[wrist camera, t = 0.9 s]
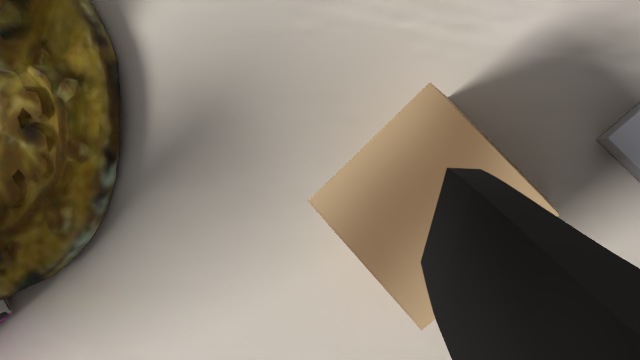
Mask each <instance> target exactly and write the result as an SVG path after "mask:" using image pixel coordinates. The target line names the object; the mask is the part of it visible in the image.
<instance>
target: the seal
mask: <svg viewBox="0 0 640 360" xmlns="http://www.w3.org/2000/svg"><path fill="white" fill-rule="evenodd" d="M119 127H120V87H119V80H118V70H117V60H116V56H115V52H114V49H113V46H112V44H111V41H110V38H109V37H108V35H107V33H106V31H105V28H104V25H103V23H102V21H101V19H100V17H99V16H98V14H97V13H96V11H95V10H94V8H93V6H92V4H91V3H90V1H89V0H0V250H1V254H2V261H1V264H0V300H2V299H5V298H8V297H10V296H12V295H14V294H16V293H17V292H19V291H21V290H23V289H25V288H27V287H29V286H31V285H33V284H36V283H38V282H40V281H42V280H45V279H47V278H49V277H51V276H53V275H55V274H57V273H58V272H59V271H60V270H62V269H63V268H64V267H65V266H67V265H68V264H69V263H70V262H71V261H72V260H73V259H74V258H75V257H76V256H77V255H78V254H79V253H80V251H81V250H82V249H83V248H84V247H85V245H86V244H87V243H88V242H89V240H90V239H91V238H92V236H93V235H94V233H95V232H96V230H97V228H98V227H99V225H100V224H101V222H102V220H103V217H104V215H105V213H106V211H107V208H108V204H109V201H110V197H111V193H112V190H113V186H114V183H115V180H116V167H117V163H118V159H119V156H120V137H119Z"/></svg>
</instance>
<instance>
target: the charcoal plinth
mask: <svg viewBox="0 0 640 360" xmlns="http://www.w3.org/2000/svg"><path fill="white" fill-rule="evenodd" d="M596 140H597V141H598V142H599V143H600V144H601V145H602V146H603V147H604V148H605V149H606V150H607V151H608V152H610V153H611V154H612V155H613V156H614V157H615V158H616V159H617V160H618V161H619V162H620V163H621V164H622V165H623V166H624V167H625V168H626V169H627V170H628V171H629V172H630V173H631V174H632V175H633V176H634V177H635V178H636V179H637V180H638V181H639V182H640V102H639V103H638V104H637V105H636V106H635V107H634V108H632V109H631V110H630V111H629V112H628V113H627V114H625V115H624V116H623V117H622V118H621V119H620V120H618V121H617V122H616V123H615V124H614V125H613V126H611V127H610V128H609V129H608V130H607V131H606V132H604V133H603V134H602V135H601V136H600V137H599V138H597V139H596Z"/></svg>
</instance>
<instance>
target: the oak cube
mask: <svg viewBox="0 0 640 360" xmlns="http://www.w3.org/2000/svg"><path fill="white" fill-rule="evenodd" d="M447 168H466V169H482V170H484V171H486V172H488V173H490V174H492V175H493V176H495V177H497V178H499V179H500V180H502V181H503V182H505V183H507V184H508V185H510V186H511V187H513V188H514V189H516V190H518V191H519V192H521V193H522V194H524V195H525V196H527V197H528V198H530V199H531V200H533V201H534V202H536V203H537V204H539V205H540V206H542V207H543V208H545V209H546V210H548V211H549V212H551V213H552V214H554V215H555V216H557V217H558V216H559V214H558V212H557V211H556V210H555V208H554V207H553V206H552V205H551V203H550V202H549V201H548V200H547V199H546V198H545V197H544V196H543V195H542V194H541V193H540V192H539V191H538V190H537V188H536V187H535V186H534V185H533V184H532V183H531V182H530V181H529V180H528V179H527V178H526V177H525V176H524V175H523V174H522V173H521V172H520V171H519V170H518V169H517V168H516V167H515V166H514V165H513V164H512V163H511V162H510V161H509V160H508V159H507V158H506V157H505V156H504V155H503V154H502V153H501V152H500V151H499V150H498V149H497V148H496V147H495V146H494V145H493V143H492V142H491V141H490V140H489V139H488V138H487V137H486V136H485V135H484V134H483V133H482V132H481V131H480V130H479V129H478V128H477V127H476V126H475V125H474V124H473V123H472V122H471V121H470V120H469V119H468V118H467V117H466V116H465V115H464V114H463V113H462V112H461V111H460V110H459V109H458V108H457V107H456V106H455V105H454V104H453V103H452V102H451V101H450V100H449V99H448V98H447V97H446V96H445V95H444V94H443V93H442V92H441V91H439V90H438V89H437V88H436V87H435V86H434V85H433V84H431V83H429V84H428V85H427V86H426V87H425V88H424V89H423V90H422V91H421V92H420V93H419V94H418V95H417V96H416V97H415V98H414V99H413V100H411V101H410V102H409V103H408V104H407V105H406V106H405V107H404V108H403V109H402V110H401V111H400V112H399V113H398V114H397V115H396V116H395V117H394V118H393V119H392V120H391V121H390V122H389V123H388V124H387V125H386V126H385V127H384V128H383V129H382V130H381V131H380V132H379V133H378V134H377V135H376V136H375V137H374V138H373V139H372V140H370V141H369V142H368V143H367V144H366V145H365V146H364V147H363V148H362V149H361V150H360V151H359V152H358V153H357V154H356V155H355V156H354V157H353V158H352V159H351V160H350V161H349V162H348V163H347V164H346V165H345V166H344V167H343V168H342V169H341V170H340V171H339V172H338V173H337V174H336V175H335V176H334V177H333V178H332V179H331V180H330V181H328V182H327V183H326V184H325V185H324V186H323V187H322V188H321V189H320V190H319V191H318V192H317V193H316V194H315V195H314V196H313V197H312V198H311V199H310V200H309V201H308V202H309V203H310V204H311V205H312V206H313V208H314V209H315V210H316V211H317V212H318V213H319V214H320V215H321V217H322V218H323V219H324V220H325V221H326V222H327V223H328V225H329V226H330V227H331V228H332V229H333V230H334V231H335V232H336V234H337V235H338V236H339V237H340V238H341V239H342V240H343V242H344V243H345V244H346V245H347V246H348V247H349V248H350V250H351V251H352V252H353V253H354V254H355V255H356V256H357V257H358V259H359V260H360V261H361V262H362V263H363V264H364V265H365V267H366V268H367V269H368V270H369V271H370V272H371V273H372V275H373V276H374V277H375V278H376V279H377V280H378V281H379V282H380V284H381V285H382V286H383V287H384V288H385V289H386V290H387V292H388V293H389V294H390V295H391V296H392V297H393V298H394V300H395V301H396V302H397V303H398V304H399V305H400V306H401V307H402V309H403V310H404V311H405V312H406V313H407V314H408V315H409V317H410V318H411V319H412V320H413V321H414V322H415V323H416V325H417V326H418V327H419V328H420V329H421V330H422V329H424V328H425V327H426V326H427V325H428V324H430V323H431V322H432V321H433V320H434V319H436V318H435V316H434V313H433V310H432V306H431V302H430V299H429V295H428V291H427V287H426V283H425V279H424V275H423V270H422V266H421V259H422V255H423V252H424V248H425V244H426V241H427V237H428V234H429V230H430V226H431V223H432V219H433V216H434V212H435V209H436V205H437V201H438V198H439V194H440V191H441V187H442V184H443V180H444V176H445V173H446V169H447Z"/></svg>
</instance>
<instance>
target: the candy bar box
mask: <svg viewBox="0 0 640 360" xmlns="http://www.w3.org/2000/svg"><path fill="white" fill-rule="evenodd" d="M11 313H12V311H11V308H10V306H9V303H8V301H7V299H6V298H5V299H2V300H0V322H2V321H3V320H4V319H6V318H7V317H8V316H10V315H11Z"/></svg>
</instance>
